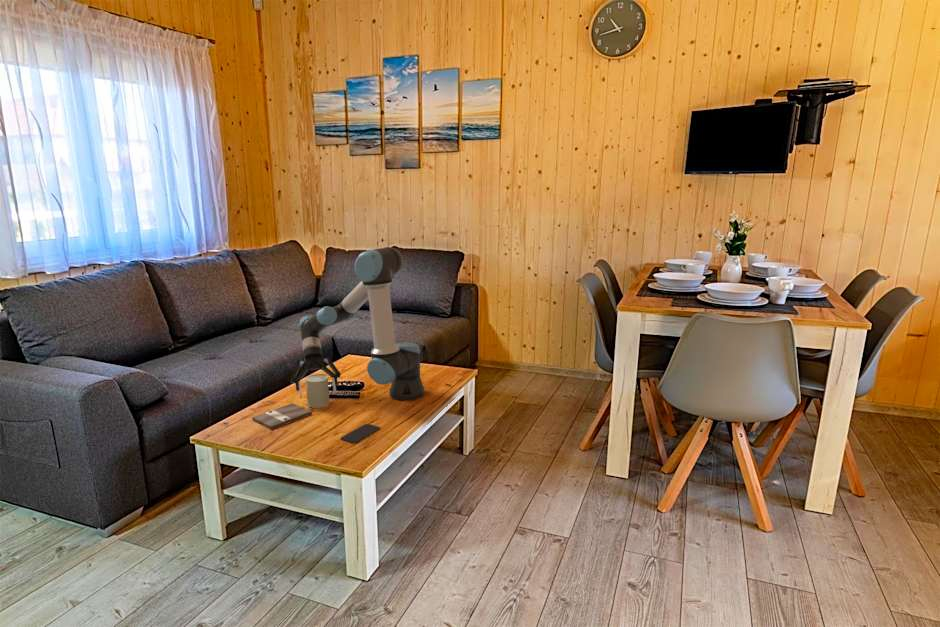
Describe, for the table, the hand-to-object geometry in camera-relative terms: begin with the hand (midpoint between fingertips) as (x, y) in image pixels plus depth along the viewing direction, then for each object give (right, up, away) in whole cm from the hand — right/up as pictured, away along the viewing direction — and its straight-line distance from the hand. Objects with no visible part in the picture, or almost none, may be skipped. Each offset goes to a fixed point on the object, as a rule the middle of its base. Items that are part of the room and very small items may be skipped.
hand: (318, 395), depth 229 cm
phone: (+22, -11, -23) cm, 34 cm away
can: (-1, -4, +3) cm, 5 cm away
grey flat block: (-11, -7, -10) cm, 17 cm away
